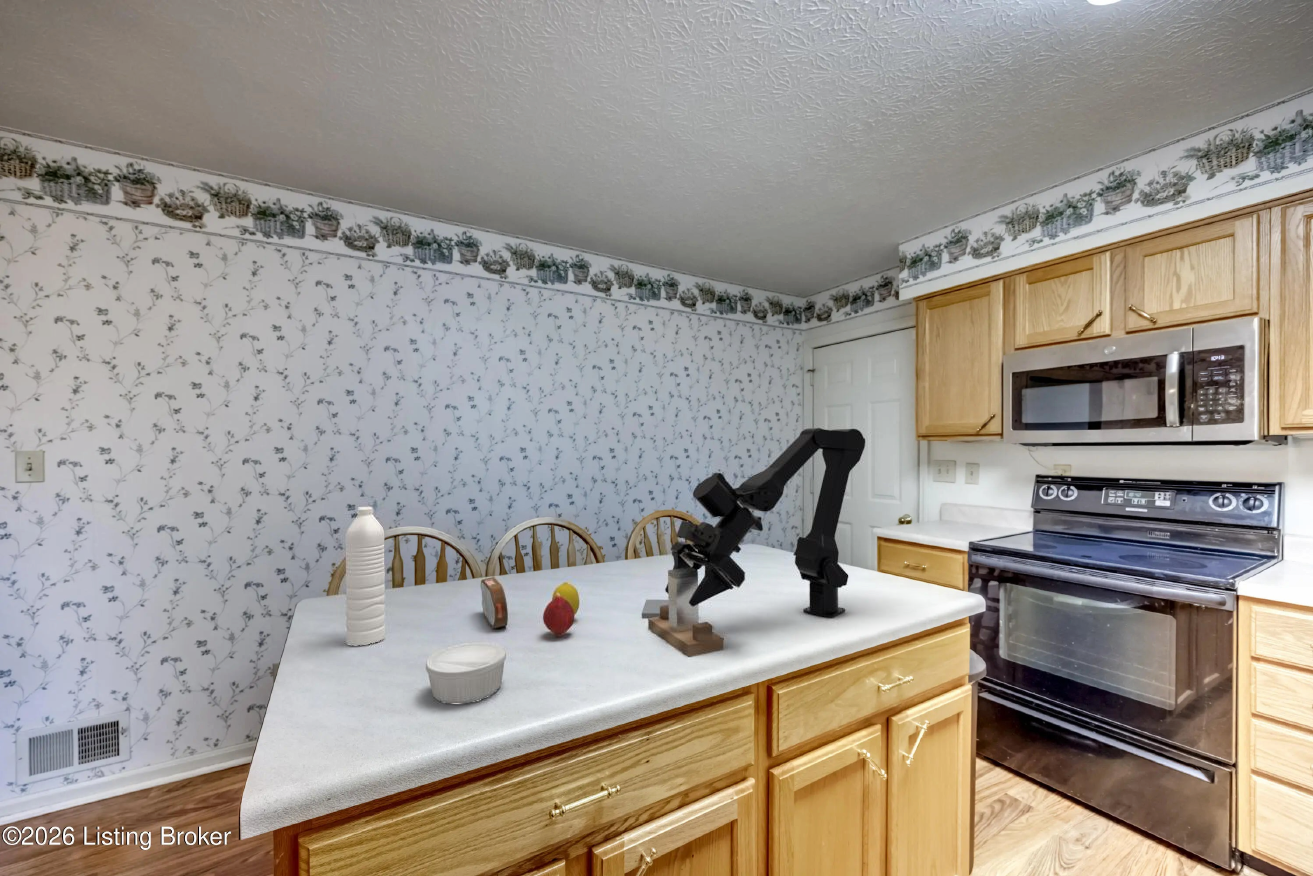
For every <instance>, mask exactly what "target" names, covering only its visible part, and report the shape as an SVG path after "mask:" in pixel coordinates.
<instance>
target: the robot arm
mask: <svg viewBox="0 0 1313 876" xmlns="http://www.w3.org/2000/svg"><path fill="white" fill-rule="evenodd" d="M865 447H866V438H865V437H864V435H863V433H862V432H861V431H860V430H858V429H857V428H843V429H842V428H841V429H839V428H837V429H836V428H835V429H824V428H820V427H815V428H814V427H811V428H805V429H803V430H802V431H800V433H799V436H798V437H797V438H796V439H794V441H793V442H792V443H791V444H790V445H789V446H788V447H786V449H785V450H784V451H783V452H781V454H780V455H779V456H778V457H777V458H776V459H775V460H774V461H773V462H772V463H771V464H770V465H769V466H768V467H767V468H765V469H764V470H762V471H760V472H758V473H756V474H754V475H751V477H749V478H747V479H746V480H745V481H743V482H742V483H741V484H740V485H739V487H738V486H737V487H733V486H732V485H731V484H730V483H729V482H728V480H727V479H726V478H725V476H724V475H723V474H722V473H720V472H714V473H712V475H711V476H708V477H707V478H705V479H704V480H702V481H701V482H699V483H697V485H696V486H695V488H694V489H693V491H692V497H693V498H694V499H695V500H696V501H697V502H698V503H699V504H700V505H701V507H702V508H704V510H705V511H706V512H707V513H708V514H709V515H710V516H711V517H712V518H718V517H720V519H719V520H718V522H717V523H715V525H712V524H710V523H708V522H705V521H702V522H700V523H699V524H696V523H693V522H688V521H685V520H681V522H680V525H679V527H678V530H677V533H676V535H675V536H676V537H678V538H679V539H684V540H686V541H689V542H691V543H692V544H691V543H689V542H685V541H682V540H680V541H675V542H674V544H672V546H671V547H670V551H671V556H672V558H673V566H672V570H673V569H681V568H689V567H690V568H692V569H695V570H697V571H699V570H700V569H701V568H702V567H704V576H703V578H702V579H701V581H700V583H698V587H697V589H696V590H695V592H694V594H693V595H692V597H691V599H690V601H689V604H690V605H691V606H696V605H697V604H698V605H699V604H701V603H703V602H705V601H707V600H709V599H711V598H712V597H715V596H717V595H720V594H721V593H723V592H726V591H728V590H733V589H734V587H735V588H740V587H741V586H742V585H743V583H744V582H745V581H746V571H744V570H743V569H742V567H741V566H739V564H738V563H737V562H736V561H735V560H734V559H733V558H732V557H731V556H732V555H733V553H737V554H739V553H740V551H741V550H742V548H741V547H740V544H741V543H742V541H743V539H744V538H745V537H746V536H747V534H748V533H749V532H750V530H754V531H759V532H763V530H764V527H763V523H762V516H758V515H754V514H753V512H752V511H756V512H757V511H758V512H762V513H763V512H766V513H767V512H771V511H772V510H773V509H775V507H776V506H777V504H778V503H779V501H780V499H781V498H782V497H783V495H784V490H785V486H786V485H787V483H788V482H789V481H790V480H791V479H792V478H793V477H794V476H795V474H797V473H798V471H799V470H801V469H802V467H804V466H805V464H806V463H807V462H808V461H809V460H810V459H811V458H812V457H813V456H814V455H815V454H816V453H817V452H818V451H819V450H821V455H822V458H823V462H824V466H825V469H824V472H823V478H822V481H821V486H820V490H819V495H818V498H817V502H816V508H815V511H814V514H813V521H812V524H811V529H810V532H809V533H808V534H807V535H806V536H805V537H804V536H803V537H802V536H799V537H798V538H797V542H796V547H795V551H794V553H793V556H794V564H795V566H796V568H797V570H798V571H799V574H800V577H801V580H803V581H808V582H809V584H808V587H809V591H808V592H809V595H808V597H809V598H808V599H809V606H807V607H805V608H803V612H804V613H808V614H812V615H817V616H821V617H826V618H829V619H831V618H834V617H836V616H837V615H840V614H842V613H844V612H845V611H846V609H845V608H844V607H840V606H839V589H841V588H842V587H844V586H847V585H848V584H847V583H848V580H849V574H848V573H847V572H846V571H845V569H844V568H843V567H842V566H841V565H840V564H839V555H840V554H839V548H838V545H837V542H836V533H837V529H838V524H839V520H840V515H841V511H842V506H843V504H844V503H843V501H844V499H845V498H844V497H845V495H846V490H847V489H846V488H847V486H848V481H849V476H850V472H851V471H852V470H853V468H854V467H855V466H856V465H857V464H858V463H859V462H860V460H861V458H862V455H863V453H864V450H865ZM751 510H752V511H751ZM664 591H665V592H666V593H667V594H668V583H667V584H666V586H665V590H664Z"/></svg>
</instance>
